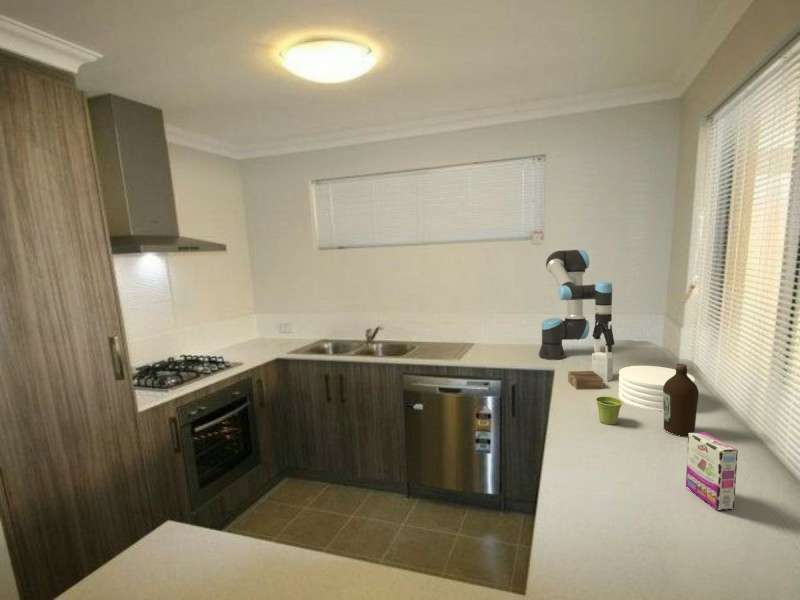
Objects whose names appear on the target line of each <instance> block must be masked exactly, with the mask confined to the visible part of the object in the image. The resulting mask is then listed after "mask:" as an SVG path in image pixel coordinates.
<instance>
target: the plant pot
mask: <svg viewBox="0 0 800 600" xmlns="http://www.w3.org/2000/svg"><path fill="white" fill-rule="evenodd" d="M595 401H596V405H597V409H598V419H599V421H600V423H603V424H604V423H605V424H604V425H608V424H614V425H616V423H617V424H618V420H619V415H620V410H621V407H622V405H623V403H624V402H623V401H622V400H621V399H620V398H617V397H615V396H614V397H613V396H607V395H604V396H597V397H595Z"/></svg>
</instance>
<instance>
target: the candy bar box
mask: <svg viewBox="0 0 800 600" xmlns="http://www.w3.org/2000/svg"><path fill="white" fill-rule="evenodd" d="M687 438H688V439H687V455H686V458H687V459H686V475H685V476H686V477H685V478H686V479H685V488H686V487H688V488H689V489H690V490H691V491H692V492H693V493H692V492H691V491H690V490H689V491H690V492H691V493H692V494H694V493H695V494H696V495H695V494H694V495H695V496H696V497H698V496H699V497H700V498H699V497H698V498H699V499H700V500H702V499H703V500H704V501H703V500H702V501H703V502H705V503H706V502H707V503H706V504H708V505H709V504H710V505H711V506H710V505H709V506H710V507H712V506H713V507H714V508H715V510H716V509H717V510H722V511H727V510H726V509H733V510H735V500H736V499H735V497H736V486H737V469H738V468H737V467H738V455H739V454H738V453H739V452H738V451H739V450H738V449H737V448H735V447H733V446H731V445H730V444H728V443H725V442H723V441H721V440H720V439H718V438H716V437H714V436H712V435H710V434H708V433H707V432H705V431H702V432H701V431H700V432H699V431H698V432H695V433H688V437H687ZM713 507H712V508H713ZM714 508H713V509H714ZM717 510H716V511H717Z"/></svg>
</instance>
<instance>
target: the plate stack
mask: <svg viewBox="0 0 800 600" xmlns="http://www.w3.org/2000/svg"><path fill="white" fill-rule="evenodd" d="M675 374H676V368H675V369H674V368H670V367H664V366H663V367H662V366H654V365H630V366H625V367H622V368H620V369H619V371H618V399H620V400H621V401H622V402H623V401H624V402H623V403H625V404H626V405H629V404H630V405H629V406H631V405H633V406H632V407H634V406H636V407H635V408H637V407H640V408H639V409H641V408H644V409H643V410H645V409H649V410H648V411H650V410H655V411H654V412H657V411H664V407H663V387H664V384H665V382H666V381H667V380H669V379H670V378H671V377H673V376H674V375H675ZM687 376H688V377H689V378H690V379H691V380H692V381H693V382H694V383H695V384H696V379H695V377H694V376H693V375H691V374H689V372H687Z"/></svg>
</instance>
